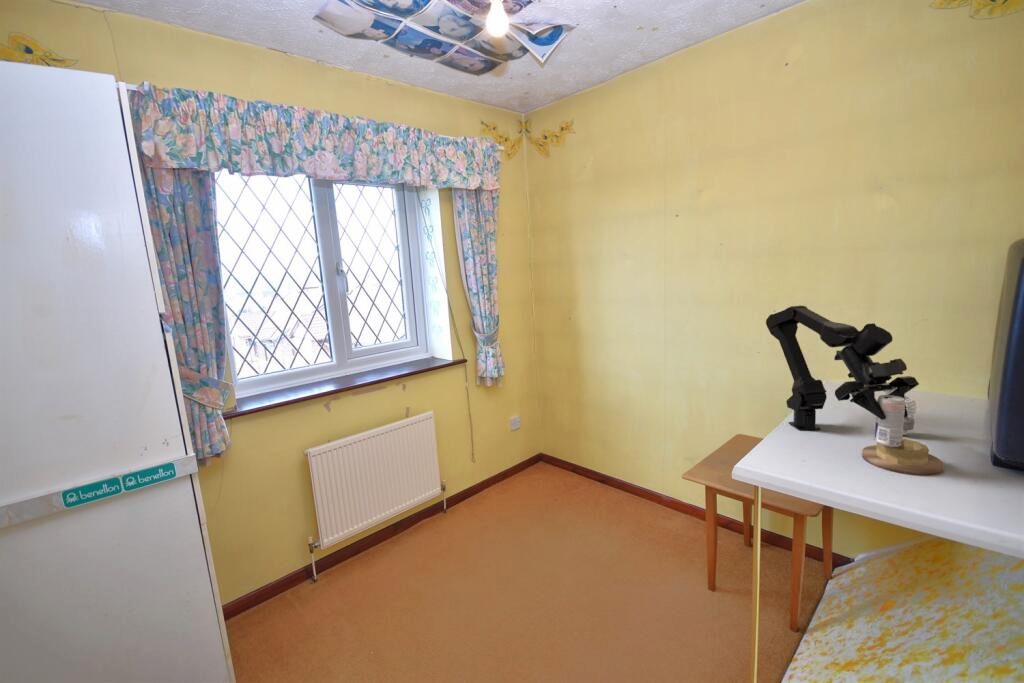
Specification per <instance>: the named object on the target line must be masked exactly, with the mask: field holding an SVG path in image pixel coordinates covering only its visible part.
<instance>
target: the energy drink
mask: <svg viewBox="0 0 1024 683" xmlns="http://www.w3.org/2000/svg"><path fill="white" fill-rule="evenodd" d="M876 400H877V402H878V404H879V405H880V407H881V409H882V410H883V412H884V414H885V416H886V419H884V420H881V419H880V418H878V417H877V416H875V426H874V427H875V428H874V439H873V440H874V441H875V443H876V444H877V443H878V444H881V445H884V446H890V447H898V446H900V445H902V438H903V436H904V435H903V425H904V413H905V402H906V400H904V398H902V397H899V396H893V395H886V394H881V395H878V398H877V399H876Z"/></svg>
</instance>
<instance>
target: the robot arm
mask: <svg viewBox="0 0 1024 683" xmlns="http://www.w3.org/2000/svg"><path fill="white" fill-rule="evenodd" d="M798 324H801V325H803V326H804V327H806V328H808V329H810V330H812V331H813V332H815V333H817V334H818V335H819V337H820V340H821V341H822V342H823V343H824V344H825V345H827V346H828V347H830V348H840V347H842V349H841V350H836V351H835V352H836V353H835V355H834V358H833V359H834V360H833V361H842V363H844V365H845V366H846V368H847V370H848V371H849V373H848V374H847V376H848V378H849V379H851V378H852V379H854V380H850V381H844V382H843V383H842V384H841V385H840V386H839V387H837V388H836V389H835V390H834V396H835V397H836V399H837V401H838V402H840V401H848V400H849V402H850V403H854V404H857V406H860V407H861V408H863V409H864V410H866V411H868V412H869V413H870V414H873V415H874V416H875V417H876V416H877V417H878V418H880V419H881V420H884V419H886V416H885V414H884V412H883V410H882V409H881V407H880V405H879V404H878V402H877V400H878V399H876V395H875V392H884V393H885V395H893V396H899V397H902V398H904V400H905V396H906V395H905V394H907V393H908V392H910V391H911V390H912V389H914V388H916V387H917V386H919V385H920V383H919V381H918V380H917V379H916V377H914V376H910V375H907V376H898V375H903V374H904V372H905V371H907V370H908V367H907V364H906V363H905V361H904V360H903V359H902V358H894V359H890V360H889V362H881V363H880V362H879V361H877V362H876V361H875V362H874V361H873V360H872V358H871V357H873V356H876V355H877V354H878V353H880V352H881V351H882V350H883V349H884V348H886V347H887V346H888V345H889V344H890V343H892V342H893V335H892V333H891V332H890V331H887V330H886V329H885V328H882V327H880V326H878V325H877V324H876V323H866V324H865V325H864V326H863V328H862V329H861V330H858V329H857V327H855V326H854V325H850V324H846V323H841V322H834V321H832V320H830V319H828V318H826V317H824V316H822V315H820V314H818V313H817V312H815V311H812V310H811V309H809V308H808V307H807V306H806V305H793V306H790V307H787V308H785V309H783V310H781V311H779V312H776V313H772V314H769V315H768V317H767V318H766V320H765V325H766V328H767V330H768V331H769V333H770V334H771V336H773V337H774V338H775V339H777V340H778V342H779V345H780V347H781V349H782V353H783V354H784V358H785V361H786V363H787V365H788V368H789V371H790V374H791V376H792V380H793V384H792V387H791V394H792V395H791V396H790V397H789V398H788V399H787V400H786V401H785V402H786V407H787V408H788V409H790V410H793V421H789V422H788V425H790V426H791V427H793V426H794V427H793V428H795V427H796V428H795V429H796V430H798V431H808V430H811V431H812V430H813V431H814V430H815V431H816V430H821V427H820V426H819V425H816V419H817V418H816V417H817V415H816V414H817V413H816V412H817V410H823V408H824V406H825V403H826V400H827V399H828V398H827V392H828V391H827V389H825V386H824V384H823V381H822V379H815V378H814V377H813V376H812V374H811V371H810V369H809V366H808V364H807V361H806V359H805V356H804V353H803V351H802V349H801V346H800V344H799V341H798V338H797V336H796V335H797V332H798V328H799V326H798ZM896 375H897V377H896V378H894V379H893V377H892V376H896ZM891 379H893V380H891ZM890 380H891V381H890ZM888 381H890V382H888ZM851 397H852V398H851ZM905 401H906V400H905ZM906 405H907V404H905V413H904V418H905V417H909V415H908V414H907V408H906Z"/></svg>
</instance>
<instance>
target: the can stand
mask: <svg viewBox="0 0 1024 683" xmlns="http://www.w3.org/2000/svg"><path fill="white" fill-rule="evenodd" d="M929 450H930V448H928V446H927V445H926V444H923V443H921V442H920V441H916V440H913V439H909V438H903V437H902V445H900V446H898V447H890V446H884V445H881V444H878V443H877V442H876V445H875V444H874V445H868V446H865V447H864V448H863V449H862V450H861V457H862V459H863V460H864V461H865V462H867V463H868V464H870V465H873V467H874V466H875V467H877V468H880V469H882V470H886V471H890V472H893V473H898V474H903V475H909V476H910V475H911V476H918V477H919V476H920V477H924V476H925V477H927V476H935V475H939V474H942V473H943V472H944V470H945V469H944V468H945V463H944V462H943V460H941V459H940V458H938V457H937V456H935V455H933V454H930V452H929Z"/></svg>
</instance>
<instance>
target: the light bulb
mask: <svg viewBox="0 0 1024 683" xmlns="http://www.w3.org/2000/svg"><path fill="white" fill-rule="evenodd" d="M905 404H906V409H907V414H908V416H907V417H905V418H904V425H903V436H904V435H907V434H908V431H912V430H914V425H915V419H914V415H915V414H916V411H917V402H916V400H915V399H914V398H913V397H910V396H907V395H905Z"/></svg>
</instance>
